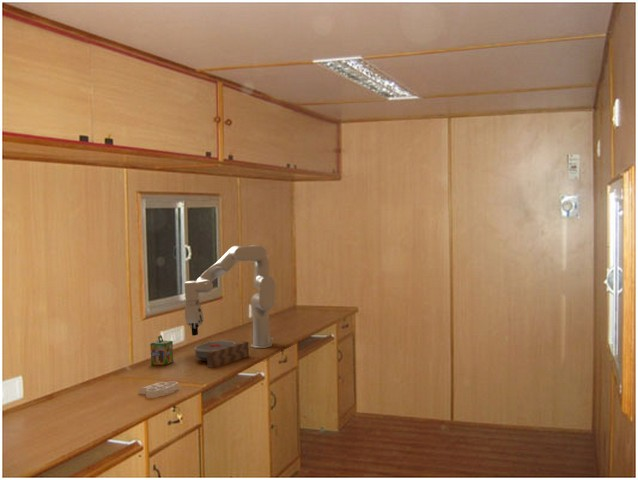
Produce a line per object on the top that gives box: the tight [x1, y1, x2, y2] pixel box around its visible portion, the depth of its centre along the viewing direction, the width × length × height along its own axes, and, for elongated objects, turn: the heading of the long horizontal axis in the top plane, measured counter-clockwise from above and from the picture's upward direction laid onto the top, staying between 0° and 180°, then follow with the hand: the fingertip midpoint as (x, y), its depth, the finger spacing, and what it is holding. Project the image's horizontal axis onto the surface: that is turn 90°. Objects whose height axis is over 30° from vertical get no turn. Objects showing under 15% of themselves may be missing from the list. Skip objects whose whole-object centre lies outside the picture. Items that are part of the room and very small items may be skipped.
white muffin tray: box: [138, 380, 179, 399], centre depth 309 cm, size 3×18×15 cm
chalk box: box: [149, 334, 174, 366], centre depth 366 cm, size 9×9×15 cm
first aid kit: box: [194, 340, 236, 362], centre depth 374 cm, size 18×8×25 cm
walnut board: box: [206, 341, 250, 369], centre depth 367 cm, size 30×3×8 cm, turn 147°
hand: (195, 335), depth 387 cm, fingers closed
